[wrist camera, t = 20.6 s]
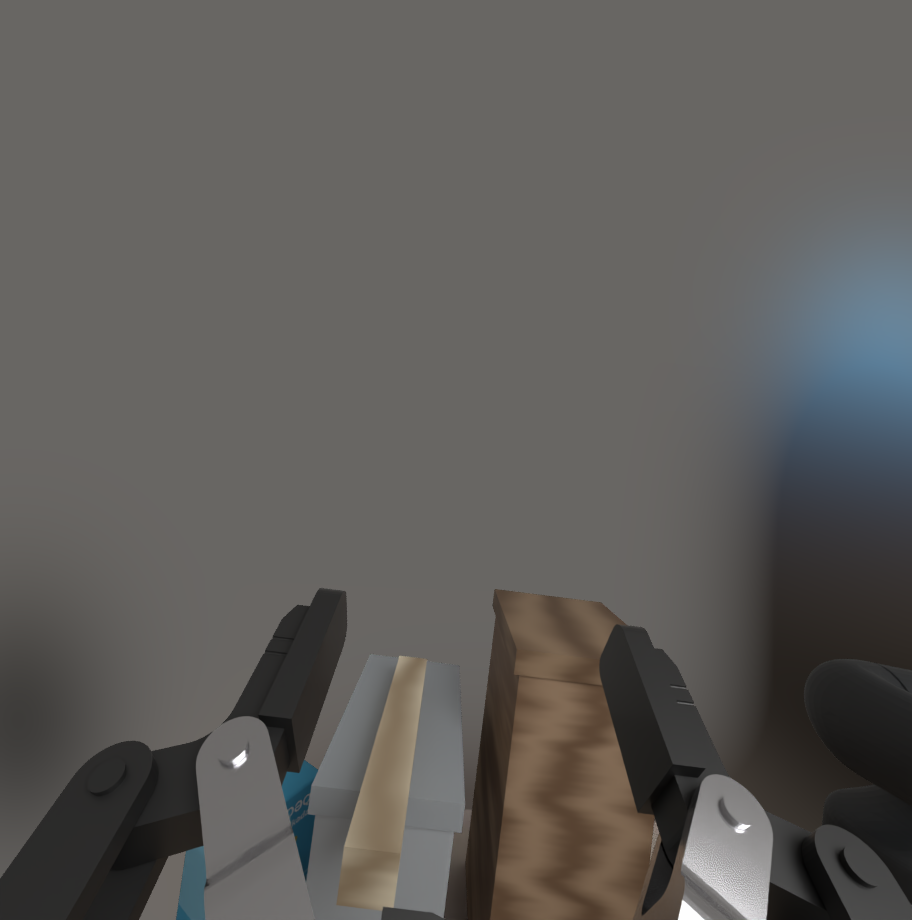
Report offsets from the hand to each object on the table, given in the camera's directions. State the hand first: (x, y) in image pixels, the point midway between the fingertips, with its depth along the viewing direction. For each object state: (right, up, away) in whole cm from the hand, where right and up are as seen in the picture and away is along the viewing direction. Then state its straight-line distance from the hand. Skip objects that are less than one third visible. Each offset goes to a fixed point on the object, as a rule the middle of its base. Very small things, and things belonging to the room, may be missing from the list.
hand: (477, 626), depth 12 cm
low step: (-8, -41, +26) cm, 49 cm away
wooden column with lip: (+6, -43, +27) cm, 51 cm away
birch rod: (-6, -19, +20) cm, 28 cm away
